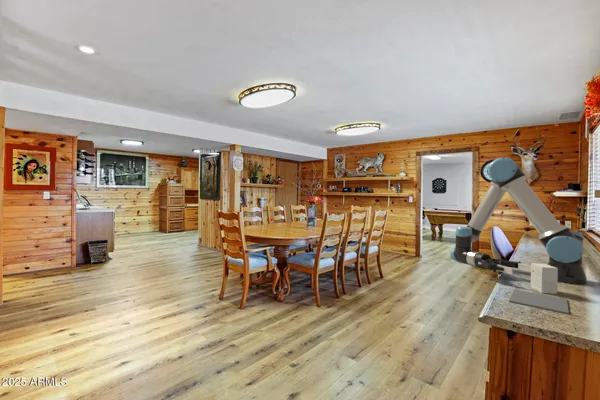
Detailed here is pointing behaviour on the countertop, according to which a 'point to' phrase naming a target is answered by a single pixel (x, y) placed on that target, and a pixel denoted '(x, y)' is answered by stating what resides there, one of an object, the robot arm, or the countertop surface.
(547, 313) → the countertop surface
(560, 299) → the slate mat
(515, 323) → the countertop surface
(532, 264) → the small box
